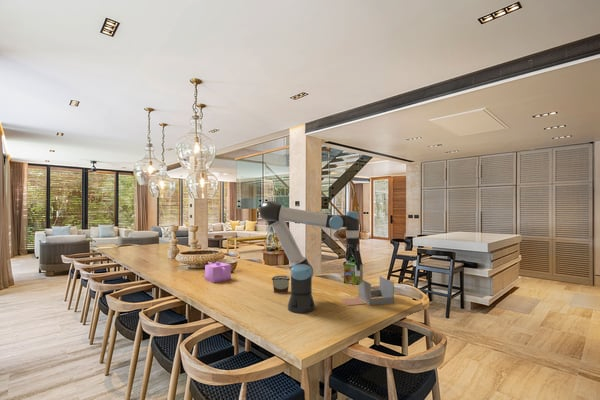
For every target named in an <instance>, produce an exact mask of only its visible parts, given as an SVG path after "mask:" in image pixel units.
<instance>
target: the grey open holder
mask: <svg viewBox="0 0 600 400" xmlns="http://www.w3.org/2000/svg"><path fill="white" fill-rule="evenodd" d="M394 289H395V282H393V281H391V280H390V279H387V278H385V277H383V276H381V275H379V289H374V290H373V289H372V284H371V283H370V282H368V281H366V280H364V279H363V282H362V283H361V284H359V285H358V298H359V299H361V300H362V301H363V302H365V303H366V304H367V305H369V306H377V305H387V304H388V305H389V304H394V303H395V290H394ZM377 296H380V297H377ZM372 297H377V298H372Z"/></svg>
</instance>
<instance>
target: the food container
mask: <svg viewBox="0 0 600 400" xmlns="http://www.w3.org/2000/svg"><path fill="white" fill-rule="evenodd" d="M271 281H272V286H273V293H275V294H276V293H279V294H281V293H282V294H283V293H284V294H288V293H289V288H290V287H289V286H290V281H291V277H290V276H288V275H275V276H273V277H271Z"/></svg>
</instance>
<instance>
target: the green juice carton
mask: <svg viewBox="0 0 600 400" xmlns="http://www.w3.org/2000/svg"><path fill="white" fill-rule="evenodd" d="M353 260H354V261H353ZM355 264H356V263H355V259H354V257H351V258H350V262H348V263H347V262H346V263H344V264H343V284H345V285H354V286H359V284H361V283H362V282H363V280H364V279H363V278H364V277H363V275H364V274H363V273H364V270H363V269H364V266H363V263H362V264H361V265H360V276H355Z"/></svg>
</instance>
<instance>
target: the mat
mask: <svg viewBox="0 0 600 400" xmlns="http://www.w3.org/2000/svg"><path fill="white" fill-rule="evenodd" d="M341 301H342V302H344V303H345V304H346V305H347V306H348V307H349V306H361V305H367V302H365V301H364V300H362V299H361V298H359V297H353V298H352V297H350V298H341Z"/></svg>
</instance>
